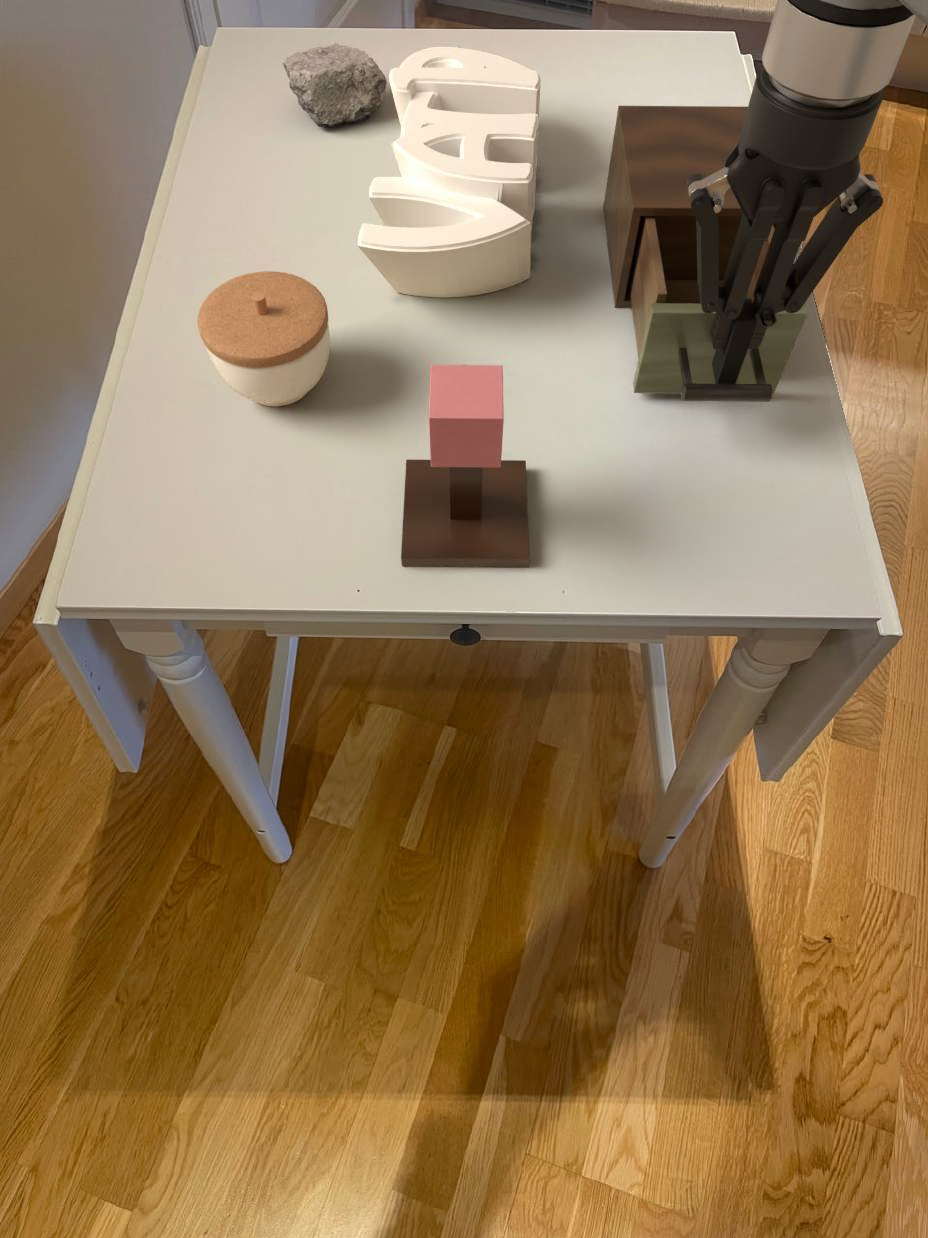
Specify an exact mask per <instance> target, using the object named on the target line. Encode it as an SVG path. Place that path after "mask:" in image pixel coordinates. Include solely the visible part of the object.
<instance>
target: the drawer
mask: <svg viewBox="0 0 928 1238" xmlns="http://www.w3.org/2000/svg"><path fill="white" fill-rule="evenodd" d="M717 219H718V224H719V286H720V287H721V286H722V282H723V279H724V276H725V272H726V269H727V266H728V262H729V259H730V256H731V252H732V249H733V246H734V242H735V239H736V236H737V232H738V229H739V226H740V222H741V217H735V216H717ZM774 230H775V229H774V226H773V225H772V228H771V231H770V234H769V237H768V240H767V241H765V242H764V244H763V247H762V250H761V253H760V256H759V259H758V262H757V265H756V268H755V271H754V274H753V277H752V280H751V283H750V286H749V289H748V292H747V295H746V298H745V299H752V303H753V300H754V296H753V294H754V290H755V287H756V284H757V281H758V278H759V275H760V272H761V269H762V266H763V263H764V260H765V257H766V254H767V251H768V248H769V245H770V242H771V239H772V236H773V233H774ZM628 283H629V290H630V298H631V306H632V308H631V312H632V320H633V328H634V334H635V343H636V350H637V359H638V360H637V364H636V369H635V373H634V377H633V382H632V387H633V393H635V394H680V399H681V401H682V402H712V403H713V402H721V403H723V402H724V403H725V402H727V403H729V402H730V403H731V402H732V403H769V402H770V401H771V400H772V397H773V395H774V394H775V392H776V390H777V388H778V385H779V383H780V381H781V379H782V375H783V374H784V371H785V370H786V369H785V368H786V367H787V365H788V362H789V359H790V357H791V354H792V352H793V350H794V347H795V345H796V342H797V340H798V338H799V336H800V333H801V331H802V329H803V326H804V325H805V324H804V323H805V321H806V319H807V316H808V310H807V308H806V307H807V306H806V304H805V303H804V305H803V306H802V308H801V309H800V310H799V311H797V312H796V313H788V312H786V310H785V311H782V312H778V313H776V314H775V316H776V320H777V321H776V323H775V324H774V325H773V326H770V327H767V329H766V332H765V335H764V337H763V340H762V343H761V345H760V346H759V347H758V348H757V349H748V350H747V353H746V356H745V359H744V361H743V364H742V367H741V370H740V373H739V376H738V378H737V381H736V384H716V383H715V378H714V373H713V368H712V361H713V358H714V355H715V351H716V349H713V345H712V340H711V335H710V330H711V327H712V323H713V320H714V317H715V313H716V312H713V313H704V312H703V311H702V307H701V302H700V297H699V292H698V281H697V226H696V217H695V216H641V219H640V224H639V229H638V234H637V239H636V245H635V250H634V255H633V260H632V265H631V270H630V275H629V280H628Z"/></svg>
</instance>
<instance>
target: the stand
mask: <svg viewBox="0 0 928 1238" xmlns="http://www.w3.org/2000/svg"><path fill="white" fill-rule="evenodd" d="M404 475H405V476H404V477H405V478H404V493H403V513H402V532H401V534H402V535H401V549H400V561H401V562H400V563H401V566H402V567H442V568H443V567H446V568H447V567H448V568H451V567H454V568H457V567H458V568H461V567H462V568H529V565H530V539H529V537H530V536H529V535H530V534H529V512H528V511H529V509H528V484H527V483H528V482H527V481H528V479H527V478H528V477H527V460H519V459H518V460H517V459H516V460H515V459H511V460H510V459H509V460H508V459H507V460H506V459H501V467H500V468H495V467H431V459H406V460H405V474H404Z"/></svg>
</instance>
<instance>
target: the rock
mask: <svg viewBox="0 0 928 1238" xmlns="http://www.w3.org/2000/svg"><path fill="white" fill-rule="evenodd" d="M282 65H283V68H284V70H285V73H286V76H287V77H288V79H289V84H288V85H289V89H290V90H291V91H292V93H293V94H294V95H295V96H296V98H297V103H298V105H299V106H300V107H301V108H302V110H303V111H304V112H306V113H307V114H308V115H309V117H310V119H311V120H312V121H313V122H314V124H315V125H316V126H317V127H319V128H320V127H321V128H323V127H324V124H325V125H328V126H329V127H336V126H339V125H345V124H347V123H359V122H361V121H363V120H365V119H366V120H365V121H367V119H370V118H371V114H373V113H375V111H377V110H378V109H379V108H381V107H382V106H383V105H384V101H385V98H386V88H387V84H388V82H387V78H386V75H385V74H384V72H383V70H381V69H380V67H379V65H378V64H377V63H376V61H374V59H373V58H372V57H371V56H369V54H368V53H366V51H364V50H361V49H359V48H358V47H352V46H347V45H343V44H339V43H337V42H333V43H330V44H328V45H326V46H316V47H312V48H308V49H307V50H306V51H297V52H294V53H292V54H291V55H289V56H288V57H285V59H284V60H283V61H282Z"/></svg>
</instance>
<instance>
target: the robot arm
mask: <svg viewBox="0 0 928 1238" xmlns="http://www.w3.org/2000/svg"><path fill="white" fill-rule="evenodd" d="M773 11H774V12H773V15H772V19H771V22H770V26H769V29H768V34H767V37H766V41H765V44H764V47H763V50H762V51H763V52H762V54H761V61H762V66H760V68H759V69H758V71H757V72H756V76H755V80H754V82H753V83H754V84H753V88H752V90H751V91H752V92H751V95H750V97H749V102H748V106H747V107H748V109H747V112H746V116H745V120H744V123H743V127H742V131H741V136H740V139H739V141H738V143H737V145H736V147H735V148H734V149H733V150H732V152H731V153H730V154H729V155H728V157H727V159H726V162H725V167H724V168H723V169H721V170H719V171H717V172H715V173H713V174H711V175H710V176H708V177H706V178H704V177H703V175H701V174H694V175H692V176H691V177H689V179H688V180H687V189H688V194H689V199H690V203H691V208H692V210H693V213H694V215H695V217H696V226H697V281H698V292H699V297H700V302H701V307H702V311H703V312H704V313H713V312H716V313H715V317H714V320H713V323H712V327H711V330H710V335H711V340H712V345H713V349H716V351H715V355H714V358H713V361H712V368H713V373H714V378H715V383H716V384H736V381H737V378H738V376H739V373H740V370H741V367H742V364H743V361H744V359H745V356H746V353H747V350H748V349H757V348H758V347H759V346H760V345H761V343H762V340H763V337H764V335H765V332H766V329H767V327H770V326H773V325H774V324H775V323H776V321H777V320H776V316H775V314H776V313H778V312H782V311H785V310H786V312H788V313H796V312H797V311H799V310H800V309H801V308H802V306H803V305H804V304H805V303H806V302H807V300H808V299H809V298H810V296H811V295H812V293H813V292H814V291H815V289H816V288H817V286H818V285H819V283H820V282H821V280H822V279H823V278H824V276H825V274H826V273H827V272H828V271H829V269H830V268H831V266H832V265H833V263H834V262H835V260H836V259H837V257H839V254H840V253H841V252H842V250H843V249H844V247H845V246H846V244H847V243H848V242H849V240H850V239H851V237H852V236H853V235H854V233H855V232H856V230H857V229H858V228H859V227H860V226H861V225H862V224H863V223H864V222H866V221H867V220H868V219H869V218H870V217H872V216H873V215H874V214H875V213H876V212H878V211H879V210H880V208H882V206H883V205H884V198H883V195H882V193H881V190H880V188H879V185H878V183H877V179H876V178H875V176H874V175H873V174H872V173H866V174H863V173H861V161H860V155H861V152H862V151H863V150H864V148H865V145H866V143H867V142H868V141H867V140H868V138H869V135H870V133H871V130H872V128H873V125H874V123H875V120H876V118H877V115H878V112H879V110H880V108H881V105H882V103H883V100H884V97H885V90H884V88H885V87H886V86H889V84H890V82H891V80H892V78H893V75H894V74H895V71H896V68H897V65H898V63H899V60H900V57H901V55H902V52H903V50H904V47H905V45H906V43H907V41H908V40H907V39H908V38H909V34H910V32H911V29H912V27H913V24H914V21H915V20H916V17H917V18H918V19H919V20H920V21H921V22H922V23H924V24H925V25H926V26H927V27H928V0H776V4H775V8H774V10H773ZM730 188H731V189H732V191H733V193H734V195H735V197H736V199H737V201H738V203H739V205H740V207H741V209H742V215H741V222H740V226H739V229H738V232H737V236H736V239H735V242H734V246H733V249H732V252H731V256H730V259H729V262H728V266H727V269H726V272H725V276H724V279H723V282H722V286H721V287H720V286H719V224H718V219H717V214H716V213H719V212H720V211H721V210H722V207H723V205H724V203H725V194H726V192H727V191H728V189H730ZM831 203H832V205H831V206H830V207H829V209H828V211H827V212H826V213H825V215H824V216H823V218H822V220H821V221H820V222H819V224H818V226H817V227H816V228H815V230H814V232H813V233H812V234H811V236H810V237H809V240H808V241H807V243H806V244H805V246H804V247H803V249H802V250H801V251H800V253H799V250H800V248H801V244H802V242H805V241H806V239H807V236H808V234H809V231H810V228H811V226H812V223H813V220H814V218H815V217H816V216H817V215H819V214H820V213H821V212H822V211H823V210H824V209H826V208H827V207H828V206H829V205H830V204H831ZM774 224H776V227H775V230H774V233H773V236H772V239H771V242H770V245H769V248H768V251H767V254H766V257H765V260H764V263H763V266H762V269H761V272H760V275H759V278H758V281H757V284H756V287H755V290H754V294H753V296H754V300H753V303H752V299H745V298H746V295H747V292H748V289H749V286H750V283H751V280H752V277H753V274H754V271H755V268H756V265H757V262H758V259H759V256H760V253H761V250H762V247H763V244H764V242H765V241H767V240H768V237H769V234H770V231H771V228H772V225H774ZM798 253H799V254H798Z"/></svg>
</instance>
